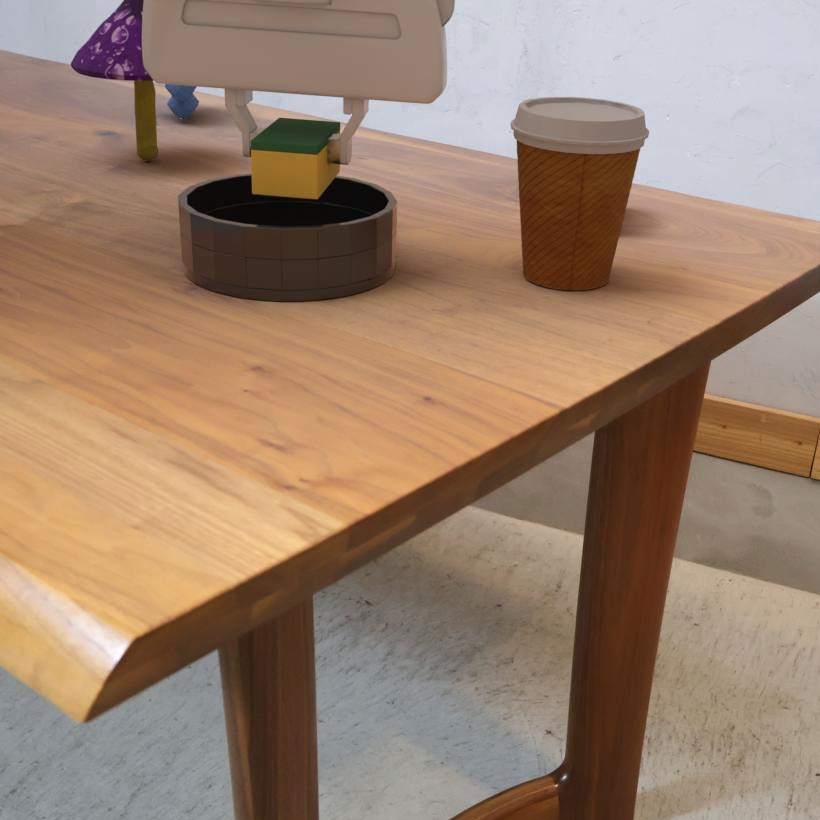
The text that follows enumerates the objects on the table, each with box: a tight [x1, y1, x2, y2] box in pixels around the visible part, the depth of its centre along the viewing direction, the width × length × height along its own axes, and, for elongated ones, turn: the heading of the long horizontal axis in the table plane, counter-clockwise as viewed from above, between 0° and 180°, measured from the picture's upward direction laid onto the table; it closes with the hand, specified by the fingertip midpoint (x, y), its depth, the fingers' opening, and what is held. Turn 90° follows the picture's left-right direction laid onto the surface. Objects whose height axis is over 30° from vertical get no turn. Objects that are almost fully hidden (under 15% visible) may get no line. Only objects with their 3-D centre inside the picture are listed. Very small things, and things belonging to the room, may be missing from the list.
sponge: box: [250, 117, 341, 199], centre depth 80 cm, size 4×8×4 cm, turn 174°
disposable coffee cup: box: [509, 96, 650, 291], centre depth 81 cm, size 10×10×12 cm
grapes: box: [164, 84, 200, 120], centre depth 126 cm, size 12×7×12 cm, turn 10°
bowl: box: [177, 172, 398, 302], centre depth 82 cm, size 15×15×5 cm
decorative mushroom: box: [70, 0, 160, 162], centre depth 106 cm, size 12×12×15 cm
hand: (297, 159), depth 80 cm, fingers closed on sponge, 4 cm apart
